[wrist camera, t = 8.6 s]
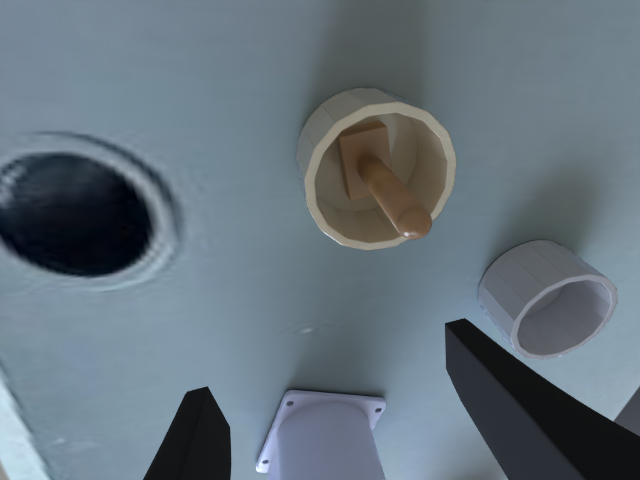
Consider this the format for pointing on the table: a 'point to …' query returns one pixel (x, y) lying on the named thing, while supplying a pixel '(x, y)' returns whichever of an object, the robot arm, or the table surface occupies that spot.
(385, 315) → the table surface
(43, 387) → the table surface
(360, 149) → the wooden wall peg
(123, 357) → the table surface
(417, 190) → the cream cup
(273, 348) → the table surface
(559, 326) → the grey cup
